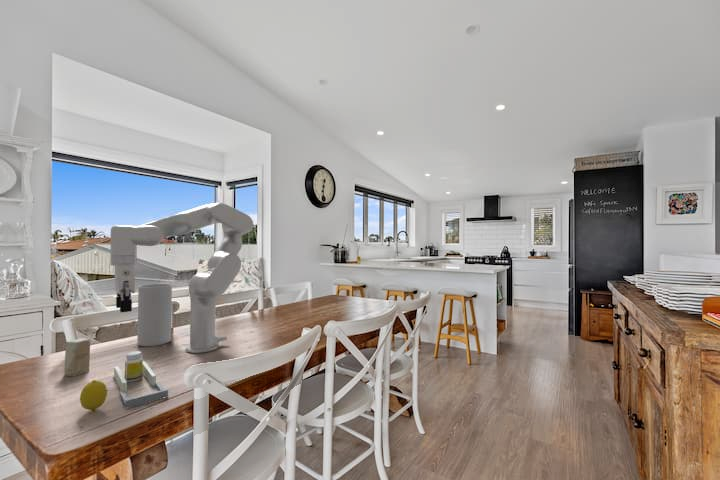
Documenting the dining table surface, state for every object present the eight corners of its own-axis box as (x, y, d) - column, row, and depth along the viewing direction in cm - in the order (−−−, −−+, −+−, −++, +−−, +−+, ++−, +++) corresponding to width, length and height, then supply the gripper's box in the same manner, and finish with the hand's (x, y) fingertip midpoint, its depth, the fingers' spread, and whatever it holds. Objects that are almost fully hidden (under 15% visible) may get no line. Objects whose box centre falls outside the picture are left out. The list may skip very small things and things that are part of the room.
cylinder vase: (177, 340, 150) (178, 285, 150) (149, 348, 138) (150, 288, 139) (158, 337, 155) (159, 283, 155) (130, 344, 144) (131, 286, 144)
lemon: (89, 405, 90) (90, 376, 90) (111, 405, 91) (112, 375, 91) (74, 416, 85) (74, 384, 85) (97, 415, 85) (97, 384, 85)
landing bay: (159, 385, 104) (159, 378, 104) (167, 396, 96) (168, 389, 96) (119, 394, 97) (119, 388, 97) (125, 408, 89) (125, 400, 89)
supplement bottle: (145, 377, 109) (146, 352, 109) (130, 383, 105) (130, 356, 105) (136, 375, 111) (136, 349, 111) (121, 380, 107) (121, 354, 107)
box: (74, 376, 109) (75, 342, 109) (63, 375, 110) (64, 341, 110) (90, 370, 114) (90, 338, 114) (80, 369, 115) (80, 337, 115)
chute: (144, 369, 116) (144, 360, 116) (155, 385, 104) (156, 375, 104) (114, 376, 110) (114, 366, 110) (122, 393, 98) (122, 383, 98)
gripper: (141, 261, 113) (141, 312, 113) (132, 259, 126) (132, 304, 126) (113, 262, 108) (113, 315, 108) (107, 259, 121) (107, 307, 121)
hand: (123, 309), depth 117 cm, fingers open, 9 cm apart
